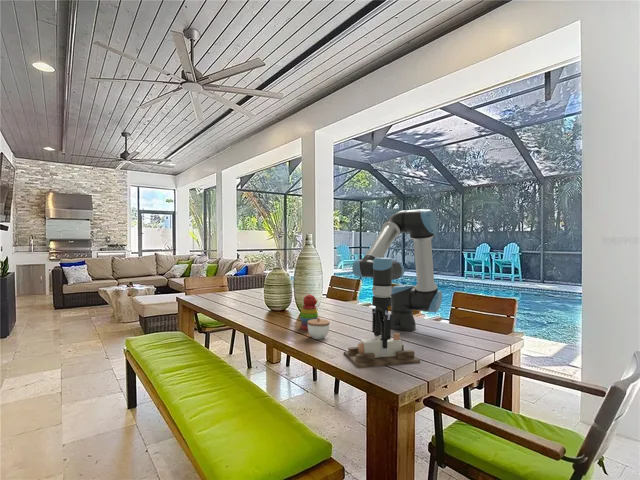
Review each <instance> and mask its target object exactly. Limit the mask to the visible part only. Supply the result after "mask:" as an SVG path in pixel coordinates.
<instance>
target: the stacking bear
mask: <svg viewBox="0 0 640 480" xmlns="http://www.w3.org/2000/svg"><path fill="white" fill-rule="evenodd" d="M317 303H318V299H316V297H315V296H314V295H312V294H310V293H309V294H307V295H305V296H304V297H303V306H302V307H301V310H300V316H299V319H300V323H301V324H300V327H299V328H300V329H301V330H304V331H308V324H307V322H308V320H312V319H317V318H319V314H318V309H317V306H316V304H317Z"/></svg>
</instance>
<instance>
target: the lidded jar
mask: <svg viewBox="0 0 640 480" xmlns="http://www.w3.org/2000/svg"><path fill="white" fill-rule="evenodd" d="M330 323H331V322H330V320H328V319H324V318H319V317H318V318H317V319H312V320H308V322H307V324H308V330H307V332H308V334H309V335H310V337H311V338H312V339H314V340H323V339H325V337H326V336H327V335H328V333H329V330H330Z"/></svg>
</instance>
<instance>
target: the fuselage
mask: <svg viewBox="0 0 640 480" xmlns="http://www.w3.org/2000/svg"><path fill="white" fill-rule="evenodd" d="M392 334H393V335H392V337H391V339H390V340H387V356H382V357H392V356H396V351H402V345H403V342H402V341H403V340H401V333H400V332H395V333H394V332H393V333H392ZM357 347H358V353H359V354H364V353H374V354H375V358H377V357H381V356H380V339H375V338H371V339H369V338H367V339H360V343H359V342H358V344H357Z"/></svg>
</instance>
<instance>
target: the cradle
mask: <svg viewBox="0 0 640 480" xmlns="http://www.w3.org/2000/svg"><path fill="white" fill-rule="evenodd" d="M404 347H405V346H404V344H402V351H396V356H392V357H377V358H375V354H374V353H364V354H359V353H358V346H349V347H347V349H348V350H347V351H343V355H344V356H345V357H346V358H347V359H348V360H349V361H350V362H351V363H352V364H353V365H354V366H355V367H356V368H358V369H359V368H372V367H383V366H384V367H385V366H394V365H406V364H407V365H408V364H419V363H421V359H420V358H418V357H417V356H415V351H414V350H413V349H409V350H408V349H407V350H405V349H404Z"/></svg>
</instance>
